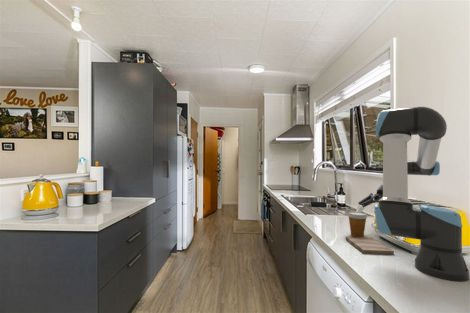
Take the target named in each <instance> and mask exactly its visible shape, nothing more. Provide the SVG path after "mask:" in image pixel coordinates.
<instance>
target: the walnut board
mask: <svg viewBox="0 0 470 313" xmlns="http://www.w3.org/2000/svg"><path fill="white" fill-rule="evenodd" d="M345 240H346V241H347V242H348V243H349V244H351V245H352V246H353V247H355V248H356V250H358V251H360V252H361V253H362V254H372V255H395V250H393V249H392V248H389V247H388V246H387V245H385V244H383V243H381V242H380V241H378V240H377V239H375V238H373V237H369V236H368V237H367V236H366V237H365V236H363V237H356V236H345Z"/></svg>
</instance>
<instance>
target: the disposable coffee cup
mask: <svg viewBox="0 0 470 313" xmlns="http://www.w3.org/2000/svg"><path fill="white" fill-rule="evenodd" d="M347 216H348V221H349V229H350V235H351V236H352V237H365V230H366V229H365V228H366V222H367V218H368V216H367V214H366V213H365V212H356V211H348V214H347Z"/></svg>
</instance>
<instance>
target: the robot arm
mask: <svg viewBox="0 0 470 313" xmlns="http://www.w3.org/2000/svg"><path fill="white" fill-rule="evenodd" d="M447 126H448V125H447V122H446V119H445V118H444V117H443V116H442V114H440V113H439V112H438V111H437V110H435V109H433V108H430V107H427V106H416V107H404V108H403V107H402V108H394V109H393V108H390V109H386V110H385V109H384V110H380V112H379V113H378V115H377V119H376V125H375V136H376V137H379V141H380V142H381V143H382V144H383V147H382V148H383V150H382V154H383V155H382V162H383V163H382V164H383V165H382V183H381V184H380V185H379V187H378V188H377V190H376V193H375V194H374V193H372V192H370V194H368V196H366V197H364V198H362V199H361V200H360V201H358V205H359V206H358V207H357V208H356V210H355V212H361V213H363V211H364V210H365V208H366V207H368V206H370V205H372V204H375V203H376V204H375V205H374V213H375V215H374V218H373V219H374V220H375V222H376V227H377V228H376V229H377V231H378V232H379V233H381V234H383V235H388V236H392V237H394V236H395V237H399V238H400V237H401V238H407V239H413V240H420V241H419V242H420V245H419V249H418V251H417V254H416V257H415V258H414V267H415V268H416V269H417V270H419V271H421V272H422V273H424V274H426V275H429V276H432V277H435V278H437V279H438V278H439V279H442V280H443V279H444V280H448V281H456V282H465V281H468V280H470V270H469V268H468V266H467V263H466V260H465V258H464V256H463V240H462V238H463V235H462V234H463V224H462V216H461V214H460V213H458V212H456V211H454V210H452V209H448V208H444V207H439V206H434V205H430V204H429V205H427V204H420V206H419V208H416V207H415V208H414V203H413V202H412V201H411V200H410V199H409V192H408V191H409V184H408V181H409V179H408V178H409V177H408V176H410V175H411V176H429V177H430V176H439V174H440V171H441V170H440V169H441V168H440V167H441V165H440V161H437V157H438V154H439V150H440V146H441V145H440V144H441V142H442V141H441V140H442V138H443V137H445V135H446V133H447V129H448V128H447ZM415 135H416V136H417V135H418V137H419V140H418V147H417V148H418V150H417V155H416V156H417V157H416V160H408V143H409V142H410V140H412V136H415ZM377 203H378V204H377Z"/></svg>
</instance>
